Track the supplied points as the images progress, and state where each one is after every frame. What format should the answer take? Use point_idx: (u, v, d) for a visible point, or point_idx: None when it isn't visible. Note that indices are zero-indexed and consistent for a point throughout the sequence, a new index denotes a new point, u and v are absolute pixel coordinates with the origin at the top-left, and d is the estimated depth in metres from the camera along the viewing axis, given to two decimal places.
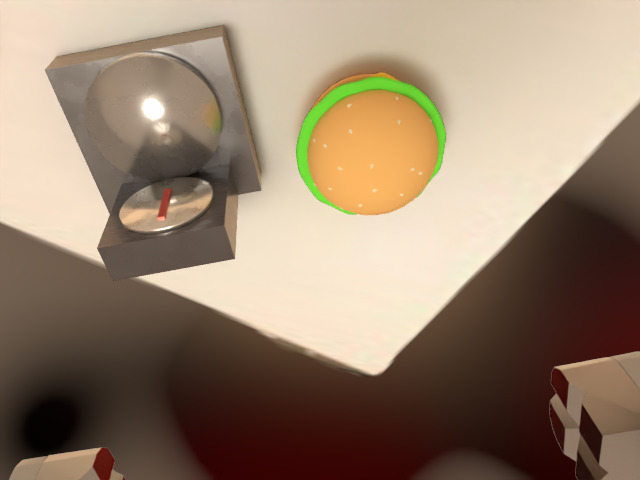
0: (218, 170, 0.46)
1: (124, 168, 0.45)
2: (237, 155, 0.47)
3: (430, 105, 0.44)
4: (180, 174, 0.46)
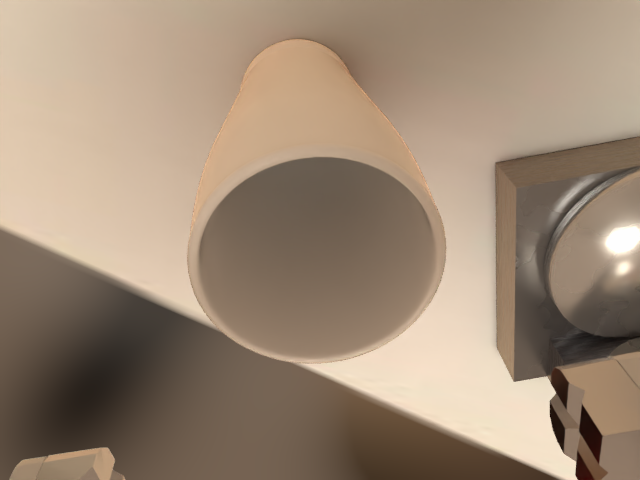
0: None
1: (578, 322, 0.31)
2: None
3: None
4: None
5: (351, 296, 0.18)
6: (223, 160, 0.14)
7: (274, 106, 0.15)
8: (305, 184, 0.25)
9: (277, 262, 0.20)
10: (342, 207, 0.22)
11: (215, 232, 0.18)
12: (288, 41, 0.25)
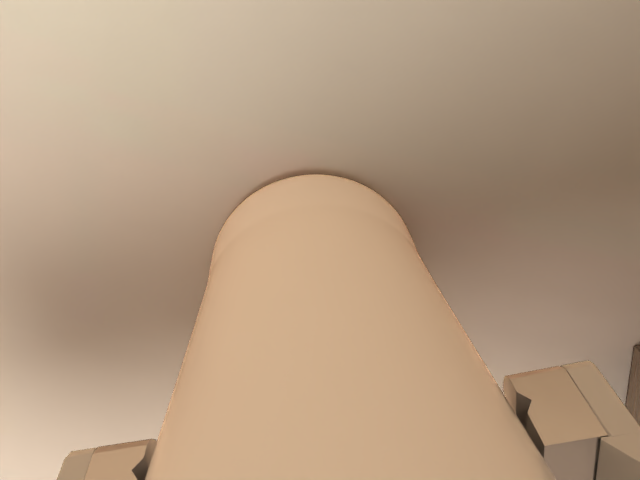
0: None
1: None
2: None
3: None
4: None
5: None
6: None
7: None
8: None
9: None
10: None
11: None
12: (298, 183, 0.14)
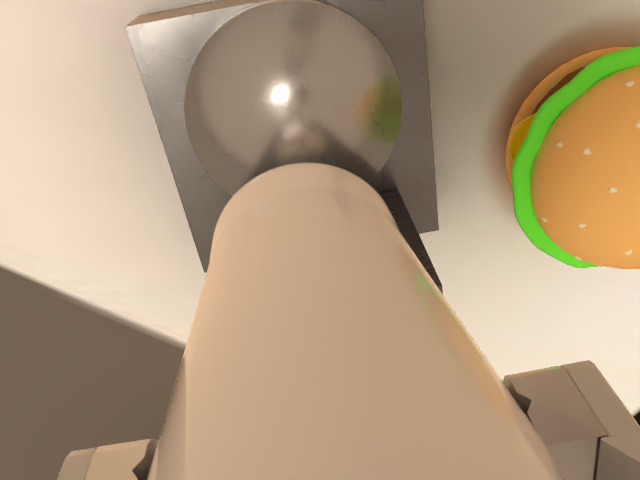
0: (382, 197, 0.29)
1: None
2: (412, 173, 0.29)
3: None
4: None
5: None
6: None
7: None
8: None
9: None
10: None
11: None
12: (284, 171, 0.15)
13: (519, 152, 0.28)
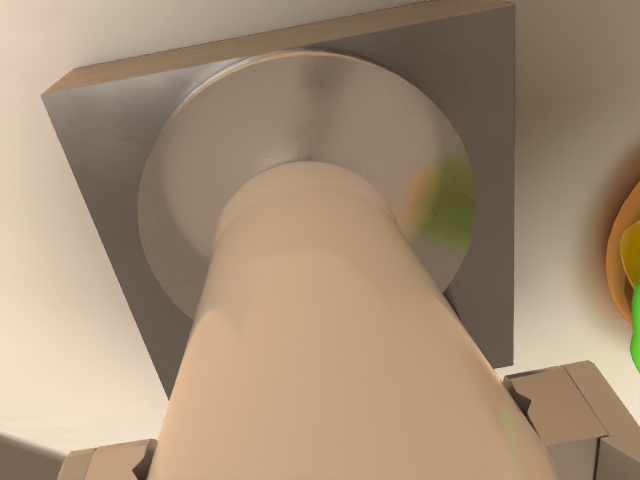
0: None
1: None
2: (480, 294, 0.20)
3: None
4: None
5: None
6: None
7: None
8: None
9: None
10: None
11: None
12: (285, 169, 0.15)
13: None
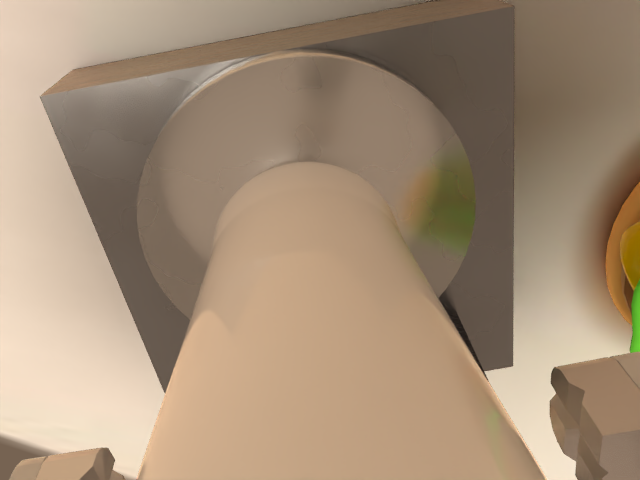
0: None
1: None
2: (480, 296, 0.20)
3: None
4: None
5: None
6: None
7: None
8: None
9: None
10: None
11: None
12: (285, 170, 0.15)
13: None
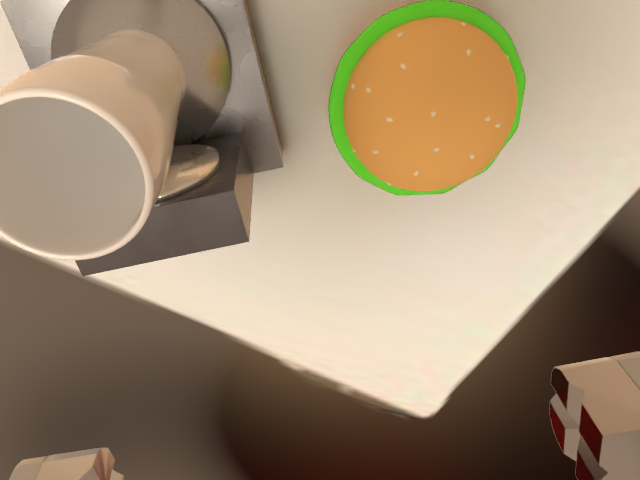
0: (226, 137, 0.36)
1: None
2: (252, 118, 0.36)
3: (506, 38, 0.33)
4: (178, 143, 0.35)
5: (128, 215, 0.24)
6: None
7: (29, 71, 0.21)
8: None
9: (86, 199, 0.26)
10: None
11: (18, 174, 0.24)
12: (117, 31, 0.31)
13: (330, 96, 0.34)
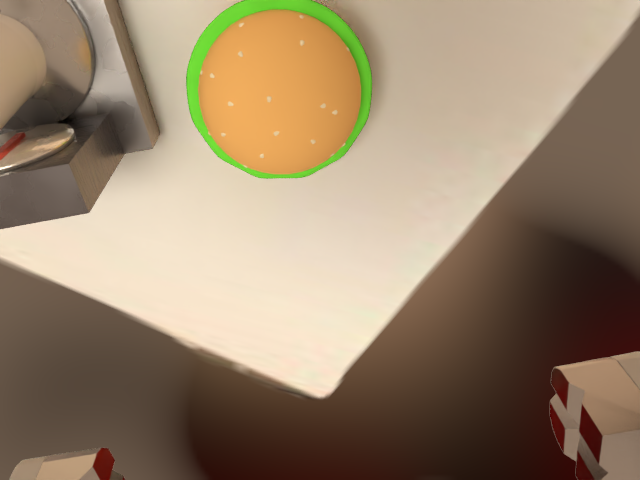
0: (92, 118, 0.38)
1: None
2: (118, 101, 0.38)
3: (348, 31, 0.35)
4: (46, 122, 0.37)
5: None
6: None
7: None
8: None
9: None
10: None
11: None
12: None
13: (186, 81, 0.36)
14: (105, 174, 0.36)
